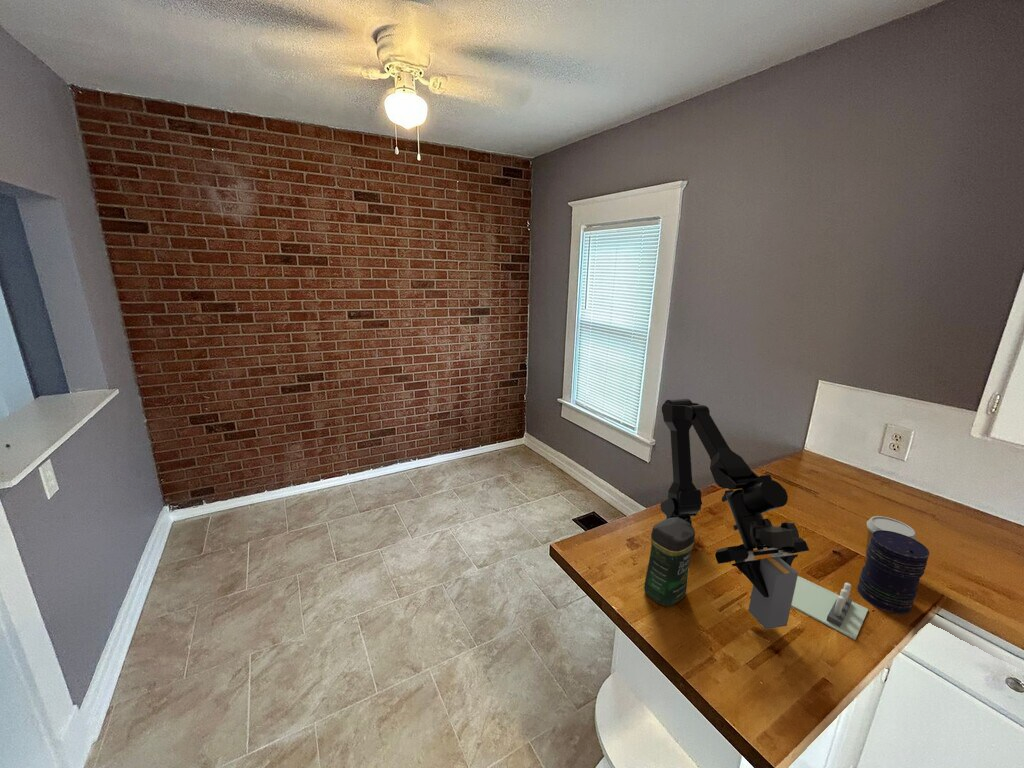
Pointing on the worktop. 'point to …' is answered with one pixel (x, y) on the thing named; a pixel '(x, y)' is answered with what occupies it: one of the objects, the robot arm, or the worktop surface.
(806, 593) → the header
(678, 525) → the coffee jar
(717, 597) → the worktop surface
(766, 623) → the plug block
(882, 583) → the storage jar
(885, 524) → the disposable coffee cup
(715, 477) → the robot arm
